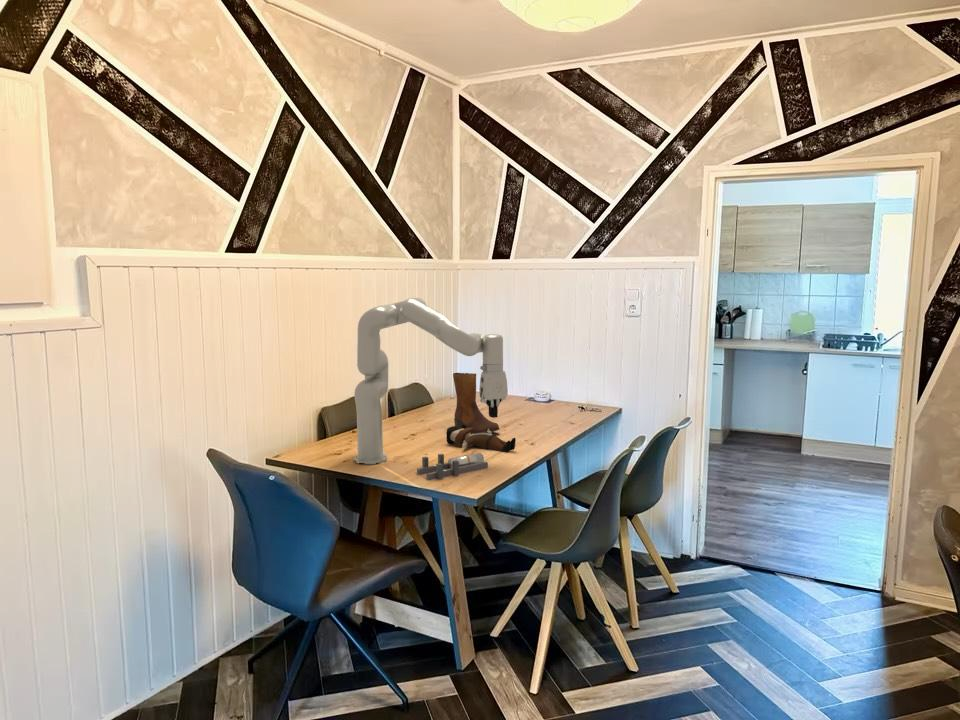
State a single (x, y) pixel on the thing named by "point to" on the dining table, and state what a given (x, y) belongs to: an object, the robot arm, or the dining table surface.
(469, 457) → the steel tube
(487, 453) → the dining table surface
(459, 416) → the boot
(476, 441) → the toy
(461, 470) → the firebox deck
